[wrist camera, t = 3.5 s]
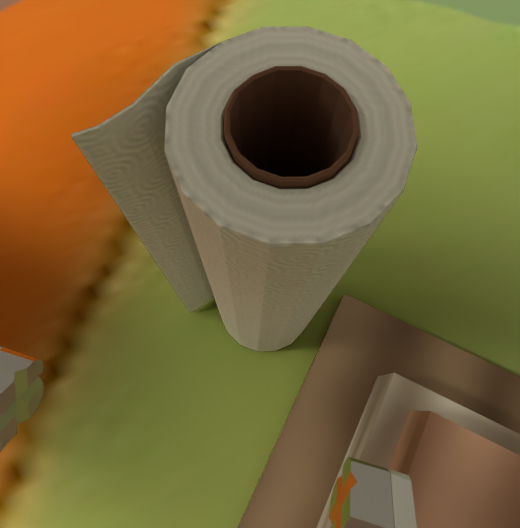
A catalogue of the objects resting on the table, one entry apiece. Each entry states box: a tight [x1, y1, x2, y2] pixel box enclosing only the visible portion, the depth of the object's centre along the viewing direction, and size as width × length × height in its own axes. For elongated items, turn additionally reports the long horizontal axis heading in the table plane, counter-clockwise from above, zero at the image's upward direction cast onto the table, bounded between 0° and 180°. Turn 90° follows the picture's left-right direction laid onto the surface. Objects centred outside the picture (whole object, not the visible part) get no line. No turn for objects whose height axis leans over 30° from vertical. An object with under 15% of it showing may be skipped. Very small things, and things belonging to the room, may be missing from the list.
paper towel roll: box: [71, 27, 417, 351], centre depth 21 cm, size 7×6×21 cm
